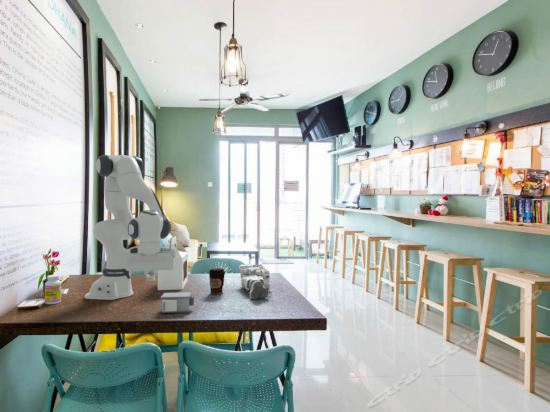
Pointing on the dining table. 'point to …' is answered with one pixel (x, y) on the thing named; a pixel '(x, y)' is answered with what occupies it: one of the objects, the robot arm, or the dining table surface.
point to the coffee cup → (216, 280)
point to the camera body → (179, 301)
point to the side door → (169, 305)
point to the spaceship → (255, 280)
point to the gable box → (175, 269)
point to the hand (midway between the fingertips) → (150, 280)
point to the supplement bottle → (53, 290)
